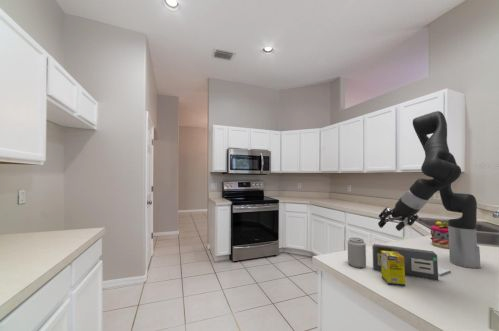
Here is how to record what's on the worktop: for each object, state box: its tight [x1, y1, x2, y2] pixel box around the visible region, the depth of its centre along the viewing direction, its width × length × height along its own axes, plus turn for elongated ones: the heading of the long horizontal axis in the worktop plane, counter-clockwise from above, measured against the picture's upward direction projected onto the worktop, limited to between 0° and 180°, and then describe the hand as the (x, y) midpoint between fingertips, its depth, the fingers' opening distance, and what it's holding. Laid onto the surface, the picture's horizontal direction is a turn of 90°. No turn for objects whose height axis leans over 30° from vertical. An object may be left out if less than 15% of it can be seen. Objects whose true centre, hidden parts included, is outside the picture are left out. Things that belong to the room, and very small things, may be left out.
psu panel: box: [371, 243, 439, 282], centre depth 87 cm, size 22×4×11 cm, turn 65°
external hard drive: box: [438, 266, 452, 277], centre depth 92 cm, size 2×8×12 cm
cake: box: [429, 220, 449, 250], centre depth 121 cm, size 10×11×15 cm
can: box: [347, 236, 367, 269], centre depth 95 cm, size 8×8×12 cm
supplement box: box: [381, 251, 406, 287], centre depth 80 cm, size 6×6×11 cm
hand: (388, 227), depth 92 cm, fingers open, 8 cm apart
